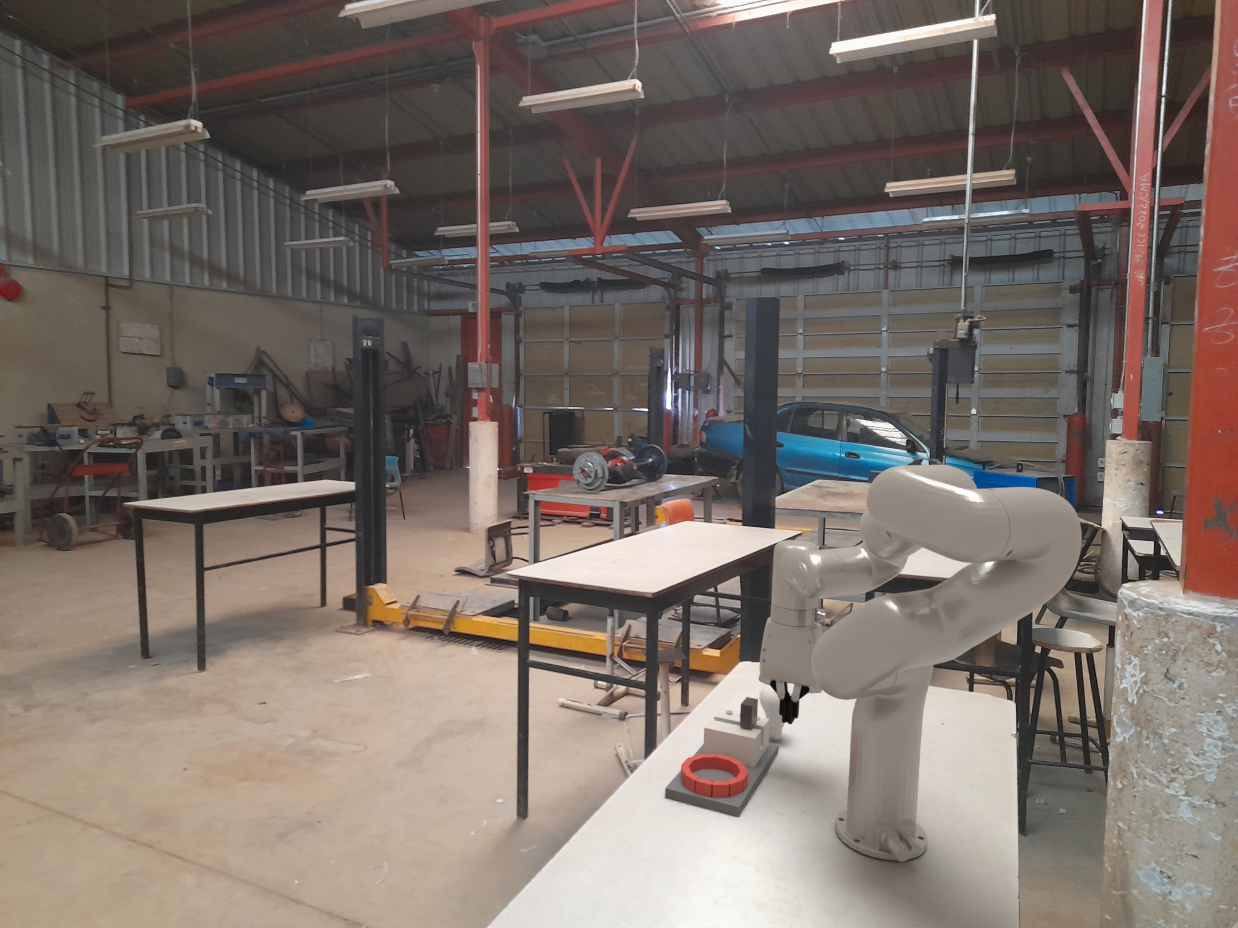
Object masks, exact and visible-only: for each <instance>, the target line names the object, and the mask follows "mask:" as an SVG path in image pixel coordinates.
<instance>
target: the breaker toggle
mask: <svg viewBox="0 0 1238 928" xmlns="http://www.w3.org/2000/svg"><path fill="white" fill-rule="evenodd" d="M758 705H759V699H758V698H754V697H750V696H749V697H748V696H746V697H745V698H744V699H743V701H742V702H741V703H740V712H739V713H740V727H744V728H749V729H752V727H753V726H754V725H755V723H756V722H757V716H758V710H759V709H758Z"/></svg>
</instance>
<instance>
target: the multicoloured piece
mask: <svg viewBox="0 0 1238 928" xmlns="http://www.w3.org/2000/svg"><path fill="white" fill-rule="evenodd" d="M769 738H770V737H769V719H767V718H766V717H761V716H759V715H757V722H756V723H755V725H754V726H753V727H752V729H749V728H744V727H740V712H737V711H733V710H731V709H729V710H728V709H727V710H726V709H720V710H718V712H716V714H715V715H714V716H713V719H711V720H709V721H708V723H707V724H706V725H705V726H704V727H703V744H702V745H701V746H700V747H699V748H698V750H697V751H696V752H695V753H694V754H693V755H692V756H689V757H687V758H686V759H685V760H684V761H683V762H682V764H681V766H680V771H679V772H678V773H677V774H676V775H675V777H674V778H673V779H672V780H671V781H670V782H669V784H667V786H666V787H665V789H664V791H665V793H664V798H666V799H670V800H673V801H677V802H681V803H686V804H689V805H692V806H697V807H701V808H703V809H708V810H710V811H711V810H712V811H715V812H719V813H723V814H727V815H731V816H733V817H734V816H735V817H739V816H740V815H741V813H742V812H743V811H744V809H745V807H746V806H747V804H748V802H749V801H750V799H751V798H752V796H753V794H754V793H755V791H756V790H757V788H758V786H759V785H760V784H761V782H762V780H763V778H764V777H765V775H766V774H767V772H768V770H769V769H770V767H771V766H772V764H773V762H774V761H775V759H776V757H777V756H778V754H779V751H780V750H779V748H780V744H777V743H772V742H769V741H770V739H769Z"/></svg>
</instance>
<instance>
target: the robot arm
mask: <svg viewBox="0 0 1238 928" xmlns="http://www.w3.org/2000/svg"><path fill="white" fill-rule="evenodd" d="M866 507H867V509H866V510H865V511H864V512H863V513H862V515H861V517H860V520H859V523H858V524H859V526H858V528H859V534H860V537H861V539H862V542H861V543H859V544H858V545H855V546H848V547H847V546H846V547H837V548H834V547H833V548H825V549H820V548H819V546H818V545H816V544H815V543H814V542H811V541H806V540H801V539H800V540H799V539H787V540H781V541H779V542H777V543H776V544H775V546H774V548H773V560H772V561H773V562H772V563H773V564H772V578H771V579H772V580H771V581H772V583H771V586H772V587H771V604H770V616H769V617H767V619H766V624H765V626H764V631H763V636H762V641H761V649H760V654H759V655H760V656H759V676H758V681H759V682H760V683H763V684H764V685H770V686H771V687H772V689H773V690H774V691H775V692H776V693H777V696H778V698H779V699H780V704H779V715H782V723H784V724H787V723H788V725H793V723H794V721H795V719H798V718H799V716H800V715H799V714H800V712H799V711H800V699H802V698H804V697H805V696H806V695H808V694H820V693H822V691H823V692H824V693H826V694H827V695H829V696H830V697H833V698H835V699H838V700H844V701H848V700H855V702H854V706H853V710H852V714H851V727H850V728H851V729H850V742H849V743H850V744H849V745H850V746H849V747H850V748H849V762H848V763H849V764H848V786H847V787H848V788H847V800H846V801H847V805H846V806H847V807H846V809H844V810H842V811H841V812H839V814H838V815H837V816H836V818H835V822H834V823H835V824H834V825H835V827H834V828H835V832H836V834H837V836H838V838H839V839H840V840H841V842H843V843H844V844H845V845H847V846H848V847H849V848H851V849H852V850H853V851H856V852H858V853H860V854H862V855H865V856H869V857H871V858H874V859H875V858H876V859H879V860H886V861H898V862H902V863H903V862H906V861H907V860H912V859H915V858H917V857H919V856H921V855H922V854H923V853H924V852H925V850H926V849H927V845H928V843H927V842H928V838H927V837H928V836H927V834H926V832H925V830H924V829H923V827H922V826H921V825H919V823H918V822H917V816H918V815H917V813H918V797H919V795H918V794H919V778H920V762H921V761H920V760H921V749H922V748H921V747H922V746H921V745H922V736H923V735H922V734H923V720H924V711H925V705H926V698H927V694H928V690H929V687H930V683H931V679H932V675H933V671H934V665H939V664H942V663H947V662H950V661H952V660H955V659H957V658H958V657H960V656H962V655H963V654H965V653H967V652H968V651H970V650H971V649H973V648H975V647H976V646H978V645H980V644H982V643H983V642H985V641H986V640H988V639H990V638H992V637H994V636H995V635H997V634H998V633H1000V632H1001V631H1003V630H1004V629H1006V628H1008V627H1009V626H1012V625H1013V624H1015V623H1016V622H1018V621H1020V620H1021V619H1023V618H1025V617H1027V616H1028V615H1030V614H1031V613H1033V612H1035V611H1036V610H1037V609H1039V608H1040V607H1041V606H1043V605H1045V604H1047V602H1049V601H1050V600H1051V599H1053V598H1054V597H1055V596H1056V595H1057V594H1058V593H1059V592H1060V591H1061V590H1062V589H1063V588H1064V587H1065V585H1066V584H1067V582H1068V581H1069V580H1070V578H1071V577H1072V575H1073V573H1074V571H1075V569H1076V567H1077V565H1078V562H1079V560H1080V556H1081V550H1082V542H1083V541H1082V539H1083V538H1082V534H1083V533H1082V527H1081V523H1080V518H1079V516H1078V513H1077V512H1076V511H1077V510H1076V509H1075V508H1074V507H1073V505H1072V504H1071V503H1070V502H1069V501H1068V500H1067V499H1065V498H1064V497H1063V496H1061V495H1059V494H1057V493H1055V492H1053V491H1050V490H1047V489H1043V488H1039V487H1031V486H1030V487H1029V486H1028V487H1026V486H1017V487H1016V486H1012V487H995V488H994V487H992V488H991V487H990V488H978V486H977V484H976V483H975V482H974V480H973V478H972V477H971V476H970V475H969V474H967V472H965V471H964V470H961V469H960V468H957V467H955V466H952V465H947V464H919V465H918V464H915V465H913V464H911V465H910V464H909V465H898V466H896V465H895V466H892V467H890V468H887V469H885V470H883V471H881V472H880V473H879V474H878V475H877V476H876V477H875V478H874V479H873V480H872V482H871V484H870V486H869V488H868V490H867V495H866ZM921 549H925V550H927V551H930V552H933V553H935V554H937V555H940V556H943V557H944V558H947V559H950V560H953V561H957V562H961V563H967V564H968V565H965V566H964V567H962V568H961V569H959V570H958V571H957V572H955V573H954V574H953V575H952V576H950V577H948V578H947V579H945V580H944V581H942V582H940V583H938V584H937V585H934V586H932V587H930V588H925V589H920V590H914V591H906V592H899V593H898V592H897V593H891V594H884V595H880V596H876V597H874V598H871V599H869V600H867V601H866V602H864V603H862V604H861V605H858V607H856V608H855V609H854V610H852V611H850V612H849V613H848V614H847V615H845V616H843V618H841V619H840V620H839V621H837V622H836V623H835V624H833V625H832V626H830V627H829V628H828V629H827V630H825V631H824V632H823V627H822V624H821V623H820V622H821V621H823V622H825V621H826V619H827V618H826V617H827V612H824V611H821V610H820V608H819V605H818V601H819V599H827V598H828V599H829V598H834V597H843V596H852V595H860V594H861V595H862V594H865V593H868V592H871V591H874V590H875V589H877V588H879V587H881V586H882V585H884V584H886V583H887V582H889V581H891V580H892V579H894V578H896V577H897V576H898V575H899V574H901V573H902V571H903V570H904V568H905V566H906V565H907V562H908V558H909V557H910V556H911V555H913V554H915V553H917V552H918V551H919V550H921ZM789 684H791V685H793V689H792V691H791V692H792V695H791V696H790V694H789V692H788V687H789V686H788V685H789Z"/></svg>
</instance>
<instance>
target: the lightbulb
mask: <svg viewBox="0 0 1238 928" xmlns="http://www.w3.org/2000/svg"><path fill="white" fill-rule="evenodd" d="M788 692H789V694H790V696H791V695H792V692H793V691H792V690H791V689H790V686H788ZM758 700H759V703H760V706H761V707H762V709H763V712H764V714H765V718H767V719H769V738H770V739H771V740H772V741H777V740H779V739H781V738H782V734H783V728H784V726H785V723H782V715H779V704H780V699H779V698H778V696H777V693H776V692H775V691H774V690H773V689H772V687H771V686H770V685H766V684H764V685H763V686H762V687H761V690H760V692H759V699H758Z"/></svg>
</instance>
